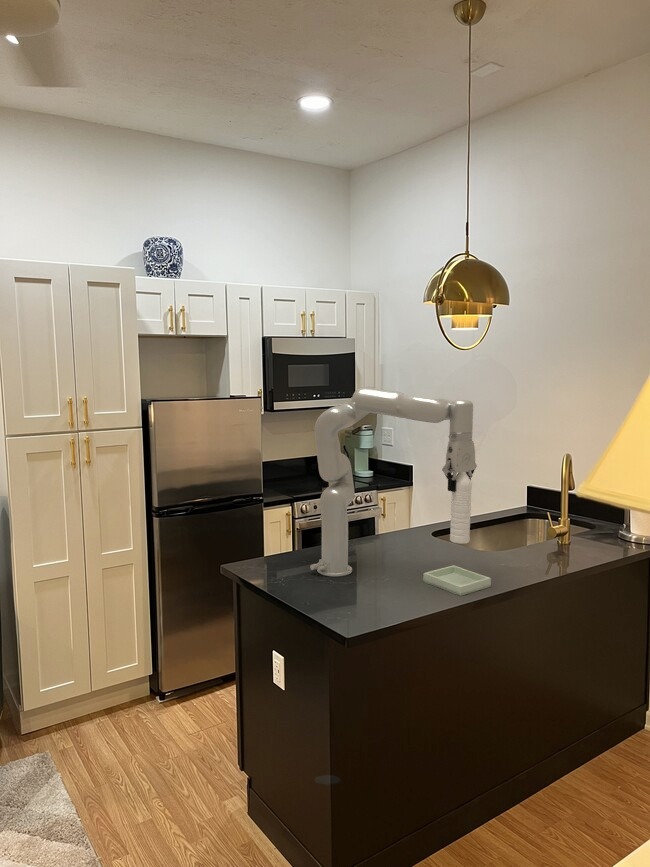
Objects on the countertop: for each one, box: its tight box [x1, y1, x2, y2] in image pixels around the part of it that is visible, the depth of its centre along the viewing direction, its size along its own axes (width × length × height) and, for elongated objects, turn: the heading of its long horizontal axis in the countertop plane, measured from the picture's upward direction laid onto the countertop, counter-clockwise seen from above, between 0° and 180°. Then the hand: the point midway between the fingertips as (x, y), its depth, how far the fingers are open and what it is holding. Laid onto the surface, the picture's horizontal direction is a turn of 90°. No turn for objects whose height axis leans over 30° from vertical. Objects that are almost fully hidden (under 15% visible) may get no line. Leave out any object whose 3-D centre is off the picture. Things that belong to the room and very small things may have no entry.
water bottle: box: [449, 471, 473, 544], centre depth 220 cm, size 9×6×25 cm
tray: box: [422, 564, 492, 597], centre depth 222 cm, size 15×17×3 cm
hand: (459, 489), depth 219 cm, fingers closed on water bottle, 6 cm apart
